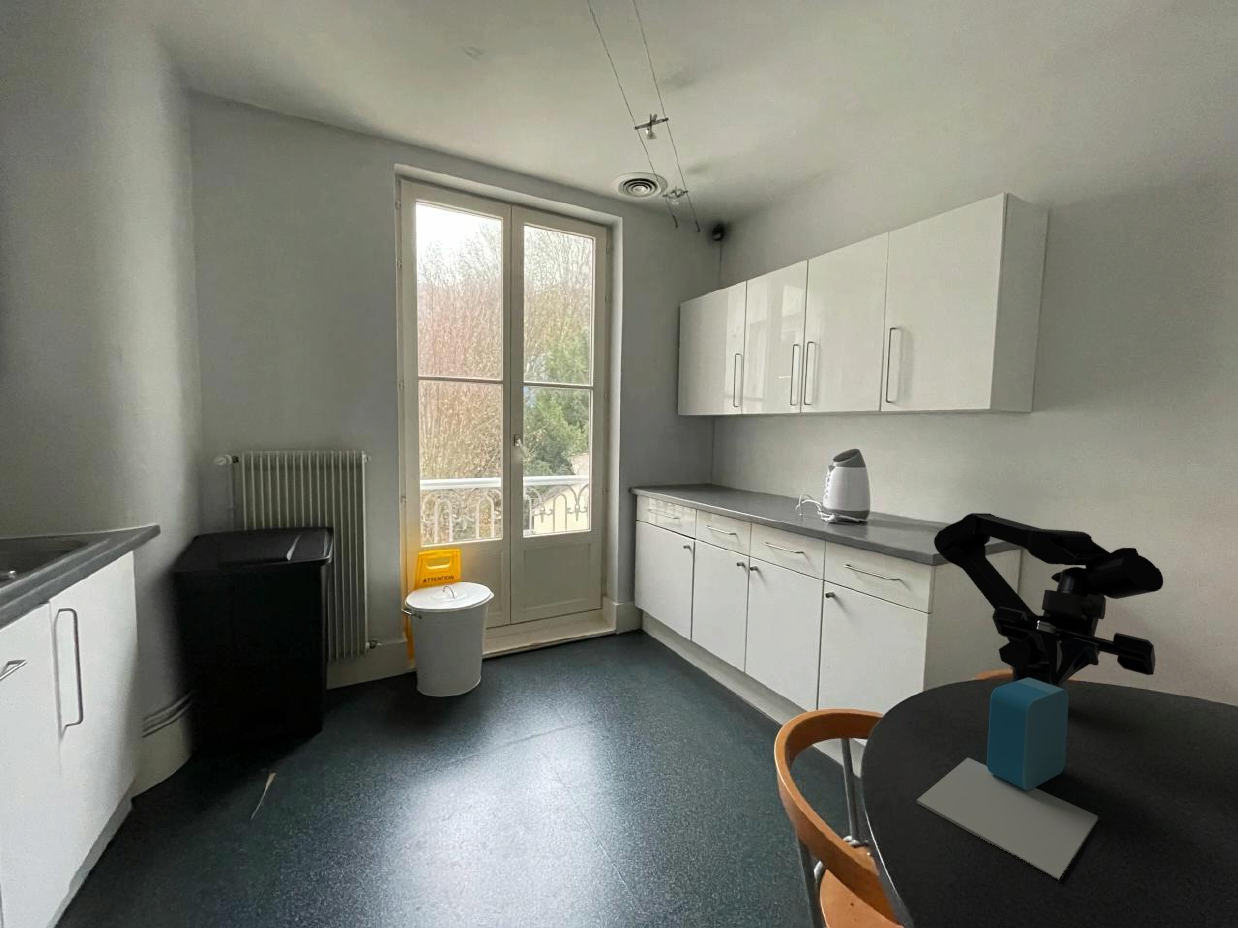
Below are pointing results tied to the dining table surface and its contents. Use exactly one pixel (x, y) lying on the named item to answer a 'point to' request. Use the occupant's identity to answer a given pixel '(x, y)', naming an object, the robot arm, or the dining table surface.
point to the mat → (1011, 816)
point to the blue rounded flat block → (1027, 732)
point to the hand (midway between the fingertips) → (1054, 684)
